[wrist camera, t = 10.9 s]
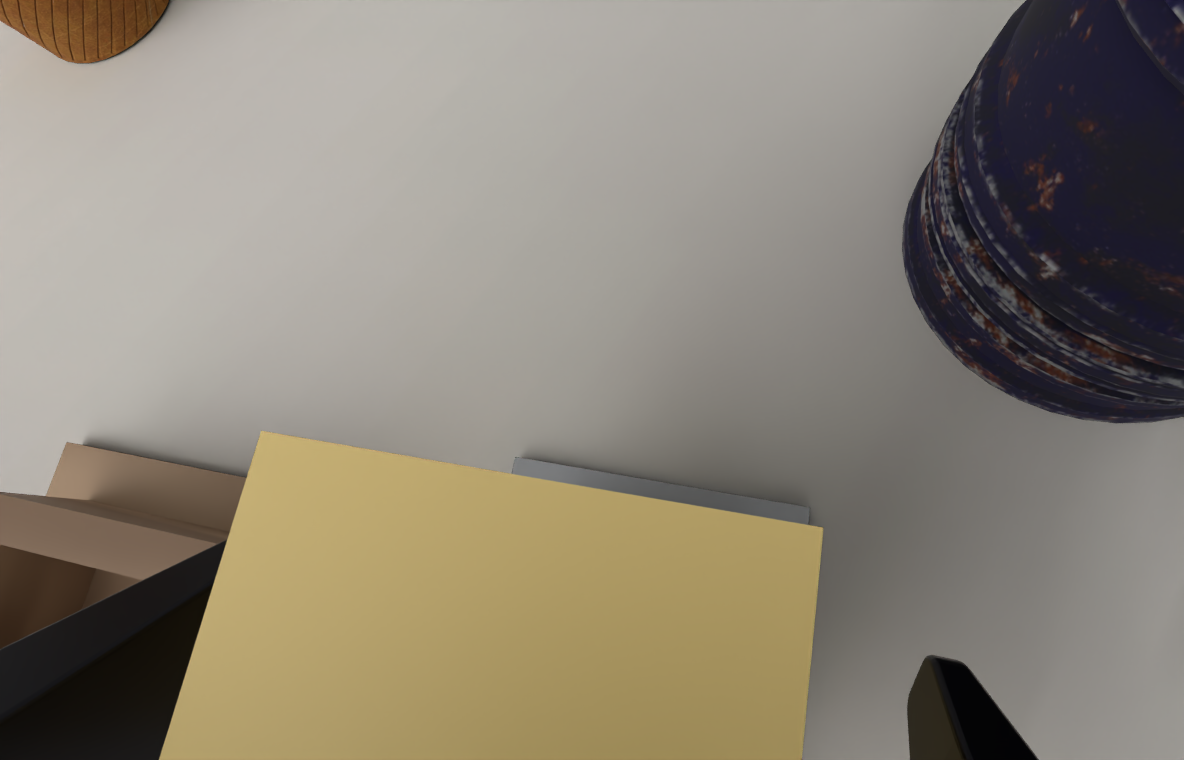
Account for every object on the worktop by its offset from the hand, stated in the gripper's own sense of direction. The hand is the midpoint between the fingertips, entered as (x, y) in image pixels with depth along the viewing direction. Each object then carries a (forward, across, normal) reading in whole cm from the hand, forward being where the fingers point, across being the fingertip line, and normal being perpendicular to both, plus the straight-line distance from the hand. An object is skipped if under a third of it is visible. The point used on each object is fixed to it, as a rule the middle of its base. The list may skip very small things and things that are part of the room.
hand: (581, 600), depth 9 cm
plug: (+5, 0, +6) cm, 8 cm away
